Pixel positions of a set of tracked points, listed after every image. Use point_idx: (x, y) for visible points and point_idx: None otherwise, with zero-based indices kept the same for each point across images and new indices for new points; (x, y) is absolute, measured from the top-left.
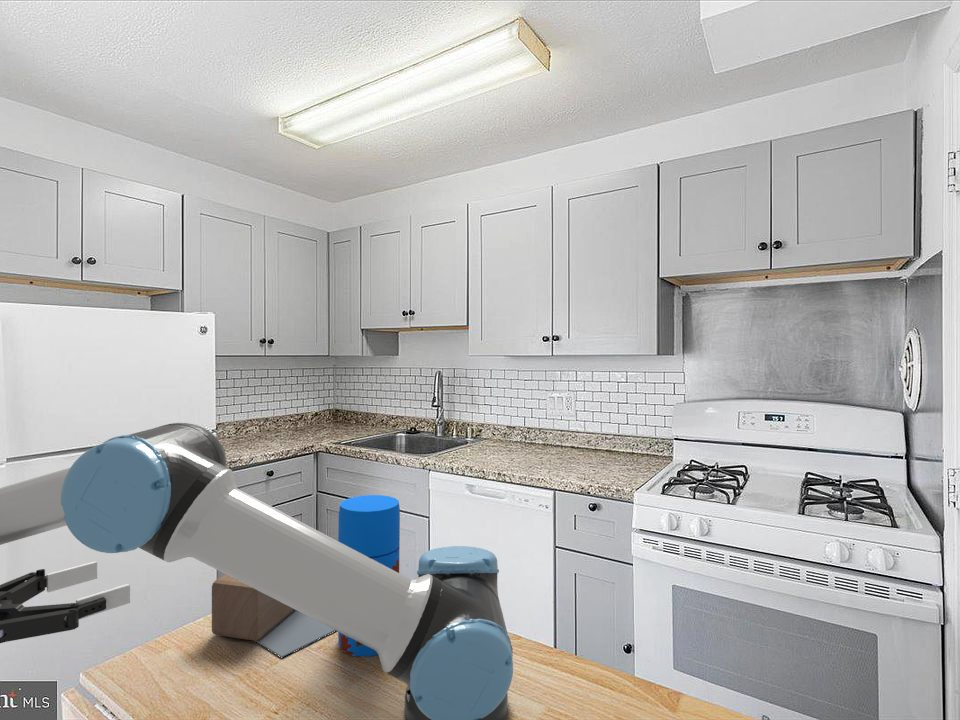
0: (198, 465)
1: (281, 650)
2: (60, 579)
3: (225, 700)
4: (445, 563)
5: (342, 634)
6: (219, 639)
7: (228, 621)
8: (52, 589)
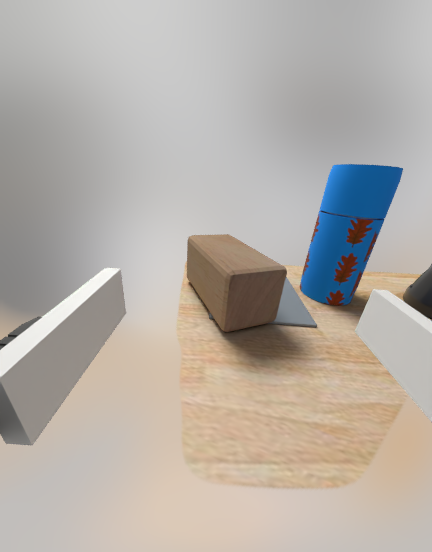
0: None
1: (304, 320)
2: (58, 363)
3: (378, 388)
4: None
5: (336, 292)
6: (233, 334)
7: (249, 313)
8: (45, 419)
